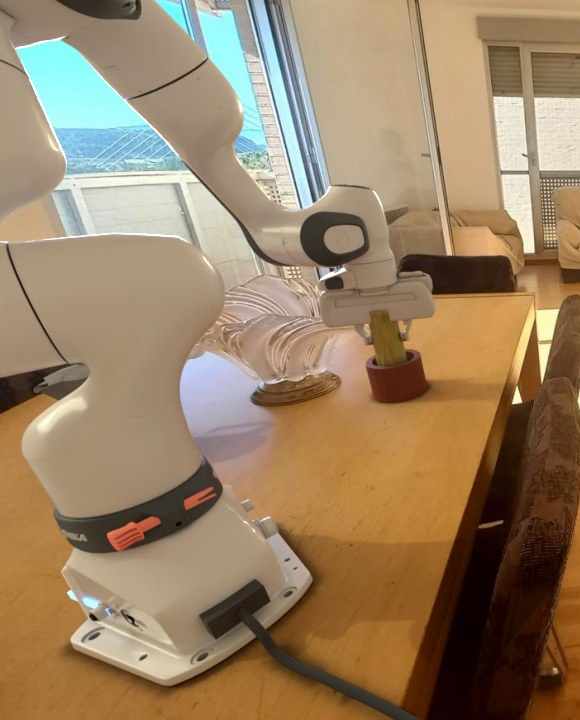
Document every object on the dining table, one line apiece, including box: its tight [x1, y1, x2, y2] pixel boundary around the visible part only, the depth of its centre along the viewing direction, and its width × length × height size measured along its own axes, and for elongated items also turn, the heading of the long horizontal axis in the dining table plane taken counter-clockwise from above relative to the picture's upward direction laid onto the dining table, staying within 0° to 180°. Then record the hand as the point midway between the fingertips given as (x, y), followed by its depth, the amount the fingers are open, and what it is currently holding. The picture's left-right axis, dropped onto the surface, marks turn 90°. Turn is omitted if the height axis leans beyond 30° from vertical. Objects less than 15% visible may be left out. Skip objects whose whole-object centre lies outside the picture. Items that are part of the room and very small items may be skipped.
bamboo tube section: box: [368, 310, 408, 367], centre depth 96 cm, size 6×6×14 cm
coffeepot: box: [33, 363, 90, 402], centre depth 80 cm, size 15×9×18 cm, turn 171°
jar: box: [364, 348, 428, 404], centre depth 98 cm, size 10×10×8 cm
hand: (388, 342), depth 96 cm, fingers closed on bamboo tube section, 5 cm apart
